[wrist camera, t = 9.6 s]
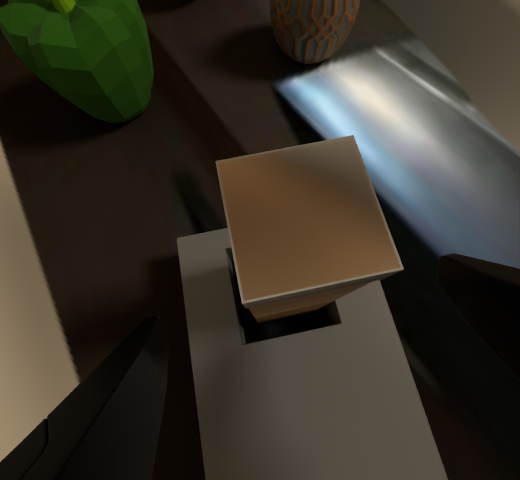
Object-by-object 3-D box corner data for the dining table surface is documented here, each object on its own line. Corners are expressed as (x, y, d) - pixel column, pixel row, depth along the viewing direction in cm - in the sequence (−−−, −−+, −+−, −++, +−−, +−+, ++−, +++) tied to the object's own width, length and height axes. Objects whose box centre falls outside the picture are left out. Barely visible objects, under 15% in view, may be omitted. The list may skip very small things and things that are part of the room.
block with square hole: (426, 488, 15) (462, 523, 13) (227, 538, 15) (218, 585, 12) (340, 221, 21) (353, 203, 18) (189, 251, 20) (176, 238, 17)
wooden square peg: (312, 312, 19) (403, 269, 6) (257, 324, 18) (241, 303, 6) (298, 260, 20) (353, 135, 7) (247, 270, 20) (215, 161, 7)
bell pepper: (189, 88, 25) (142, -65, 15) (123, 154, 23) (20, 25, 13) (121, 48, 26) (39, -113, 17) (53, 106, 24) (-83, -39, 15)
